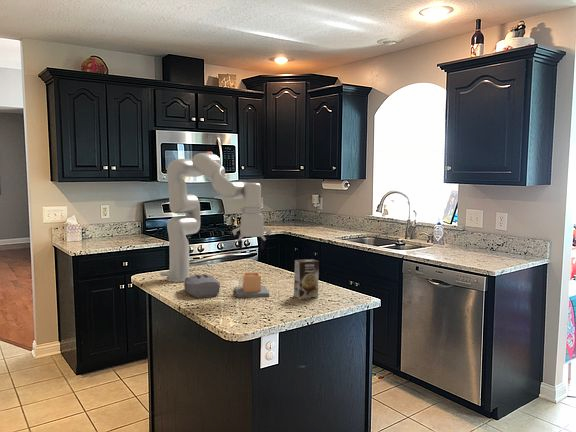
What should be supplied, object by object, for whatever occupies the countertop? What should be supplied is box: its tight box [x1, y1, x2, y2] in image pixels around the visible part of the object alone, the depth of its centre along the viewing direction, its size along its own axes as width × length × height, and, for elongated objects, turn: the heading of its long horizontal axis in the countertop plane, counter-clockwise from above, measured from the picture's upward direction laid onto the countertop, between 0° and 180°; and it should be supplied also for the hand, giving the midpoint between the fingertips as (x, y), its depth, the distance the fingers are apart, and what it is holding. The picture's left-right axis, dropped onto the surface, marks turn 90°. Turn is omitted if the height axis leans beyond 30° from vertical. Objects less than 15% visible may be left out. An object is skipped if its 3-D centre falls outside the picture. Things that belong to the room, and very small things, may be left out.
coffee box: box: [293, 258, 320, 300], centre depth 207 cm, size 9×6×16 cm
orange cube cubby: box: [242, 272, 262, 292], centre depth 212 cm, size 7×7×7 cm
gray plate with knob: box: [234, 285, 270, 298], centre depth 212 cm, size 14×14×8 cm
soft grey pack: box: [183, 273, 221, 299], centre depth 212 cm, size 15×8×20 cm
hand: (251, 249), depth 211 cm, fingers open, 9 cm apart
